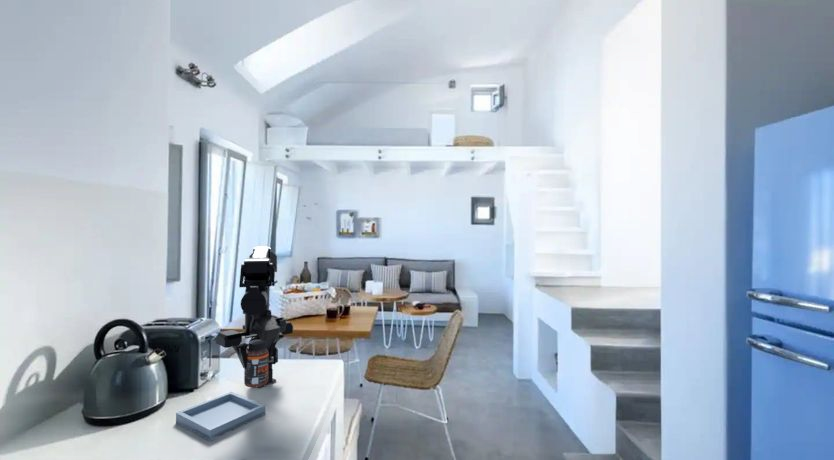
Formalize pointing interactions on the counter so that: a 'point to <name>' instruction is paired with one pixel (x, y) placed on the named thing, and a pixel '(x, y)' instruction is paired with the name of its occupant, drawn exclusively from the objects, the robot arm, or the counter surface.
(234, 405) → the tray
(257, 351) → the supplement bottle
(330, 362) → the counter surface
